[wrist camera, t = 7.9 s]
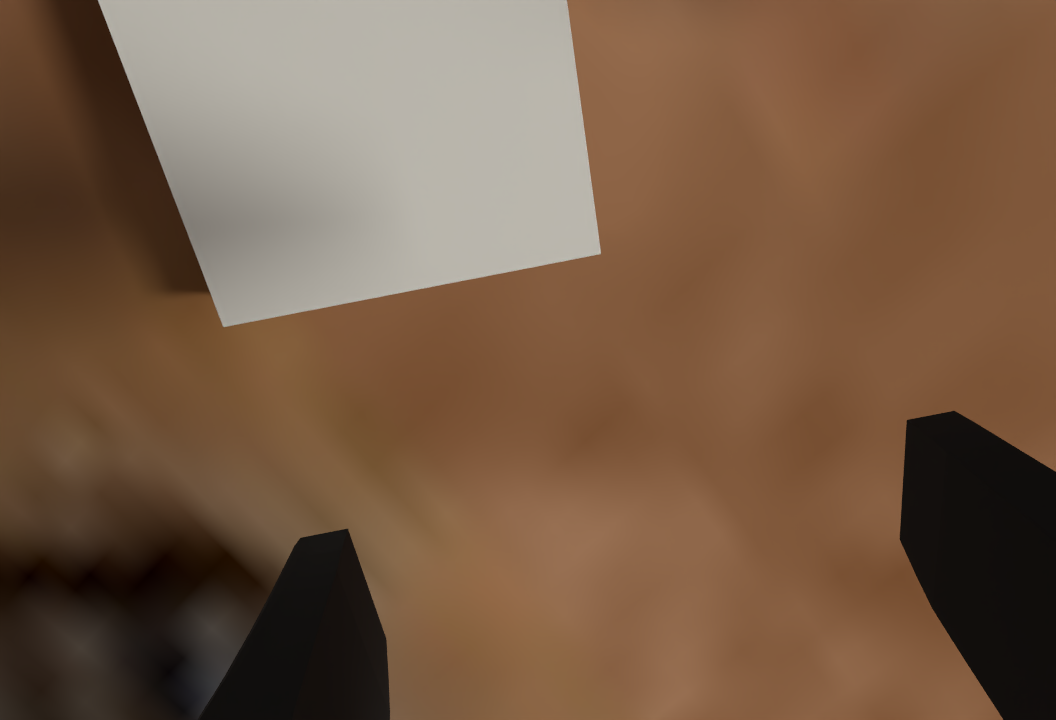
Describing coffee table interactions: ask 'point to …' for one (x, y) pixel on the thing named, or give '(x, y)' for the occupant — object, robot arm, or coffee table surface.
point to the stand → (361, 142)
